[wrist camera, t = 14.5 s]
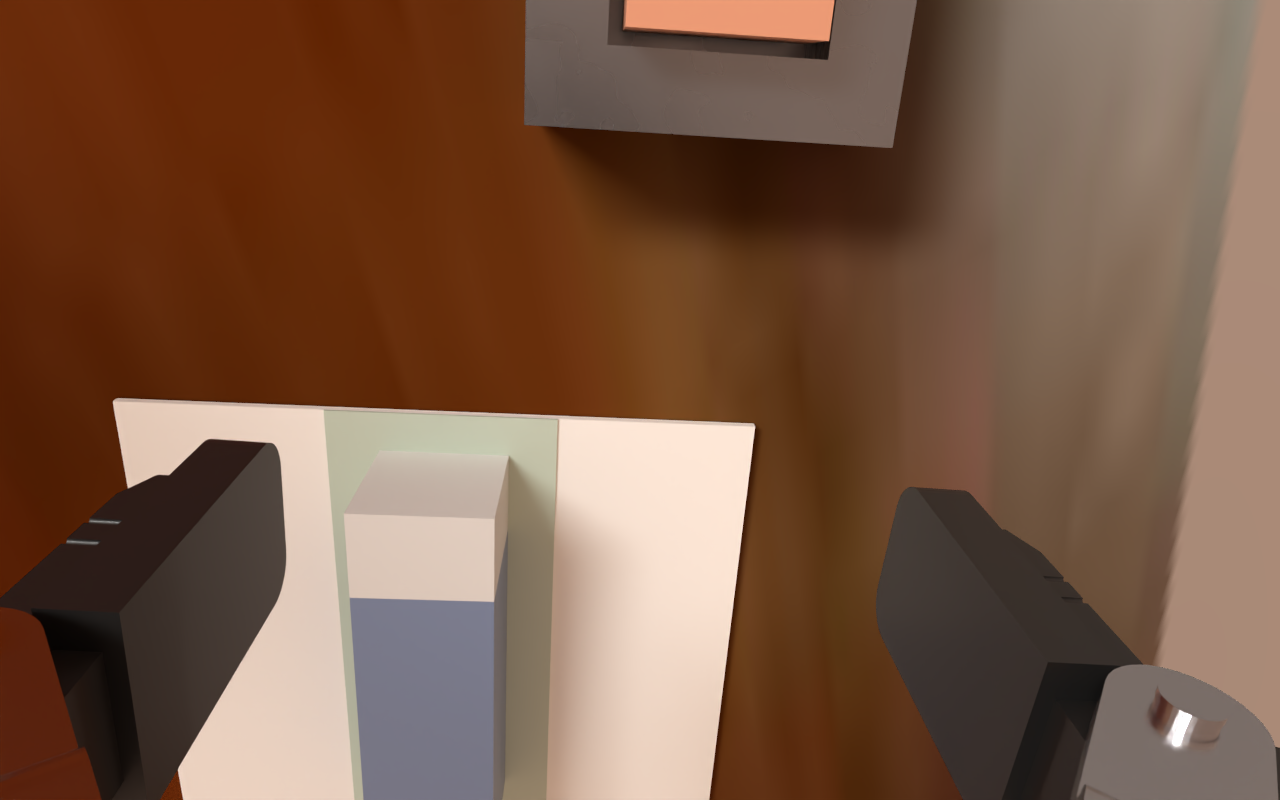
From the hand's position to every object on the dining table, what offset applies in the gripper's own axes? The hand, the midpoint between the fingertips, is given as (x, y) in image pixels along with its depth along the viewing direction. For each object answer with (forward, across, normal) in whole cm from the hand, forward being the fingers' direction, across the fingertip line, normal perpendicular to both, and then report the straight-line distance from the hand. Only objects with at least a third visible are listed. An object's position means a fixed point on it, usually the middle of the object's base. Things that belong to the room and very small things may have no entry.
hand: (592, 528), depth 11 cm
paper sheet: (+18, +4, +15) cm, 24 cm away
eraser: (+18, +4, +15) cm, 24 cm away
